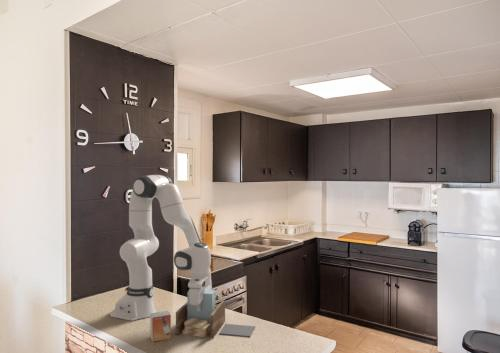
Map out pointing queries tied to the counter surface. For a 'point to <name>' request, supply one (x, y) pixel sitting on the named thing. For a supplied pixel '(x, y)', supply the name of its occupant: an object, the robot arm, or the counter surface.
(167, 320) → the small box
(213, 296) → the pale blue upright block
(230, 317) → the counter surface
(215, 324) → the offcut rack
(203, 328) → the offcut stack
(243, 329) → the rubber mat
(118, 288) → the counter surface
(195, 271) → the robot arm
